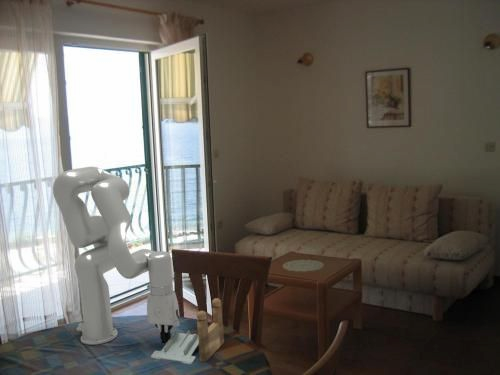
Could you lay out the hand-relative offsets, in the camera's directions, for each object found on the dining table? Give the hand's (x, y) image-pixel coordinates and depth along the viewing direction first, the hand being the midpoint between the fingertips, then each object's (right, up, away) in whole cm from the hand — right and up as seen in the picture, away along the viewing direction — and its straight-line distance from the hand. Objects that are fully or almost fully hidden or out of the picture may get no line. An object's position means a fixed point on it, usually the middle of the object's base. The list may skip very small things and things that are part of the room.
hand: (166, 341), depth 169 cm
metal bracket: (+6, -2, -5) cm, 8 cm away
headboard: (+16, -1, -6) cm, 17 cm away
